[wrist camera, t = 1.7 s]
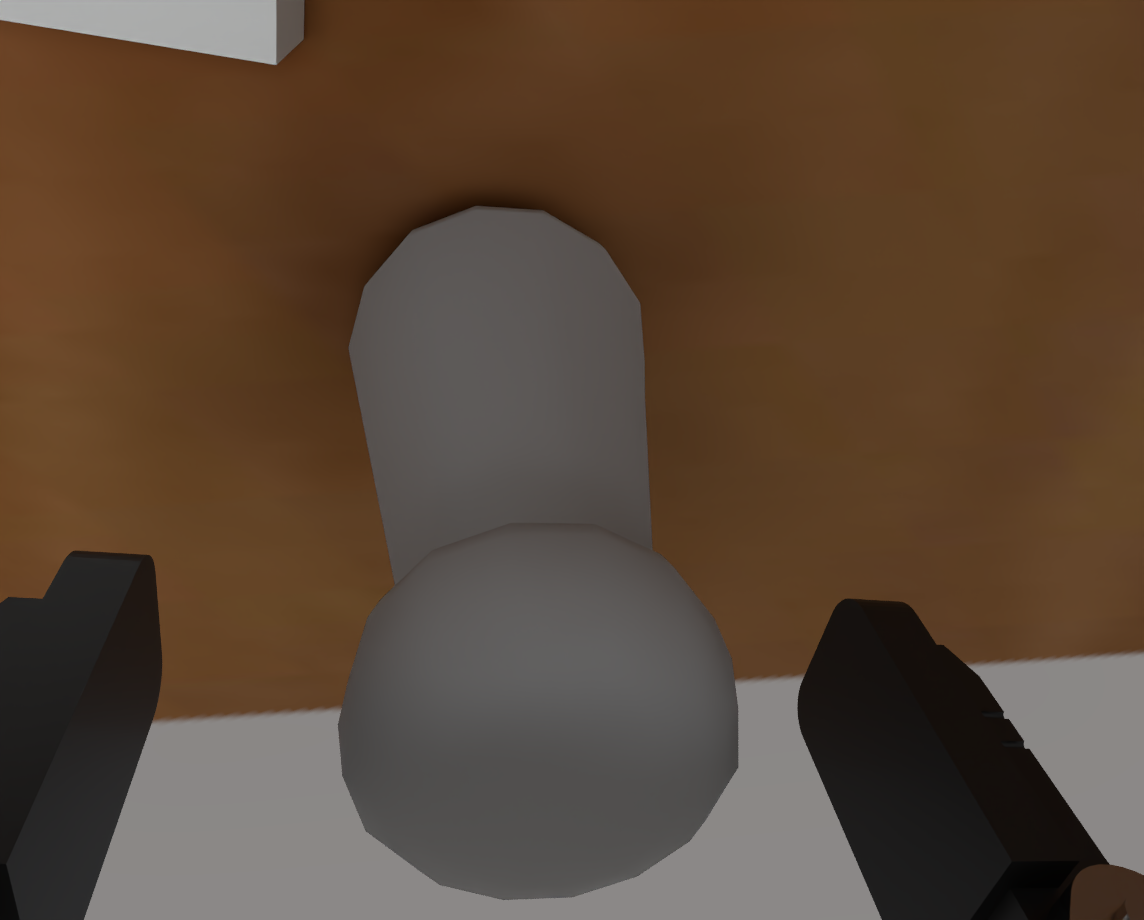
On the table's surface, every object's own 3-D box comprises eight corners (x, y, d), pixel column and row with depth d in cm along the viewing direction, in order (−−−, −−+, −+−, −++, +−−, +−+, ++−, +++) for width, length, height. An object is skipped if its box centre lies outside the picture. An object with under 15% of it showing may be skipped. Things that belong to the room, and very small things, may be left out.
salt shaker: (428, 452, 21) (401, 1027, 10) (312, 237, 18) (104, 734, 7) (657, 369, 21) (879, 883, 10) (577, 132, 18) (772, 501, 7)
